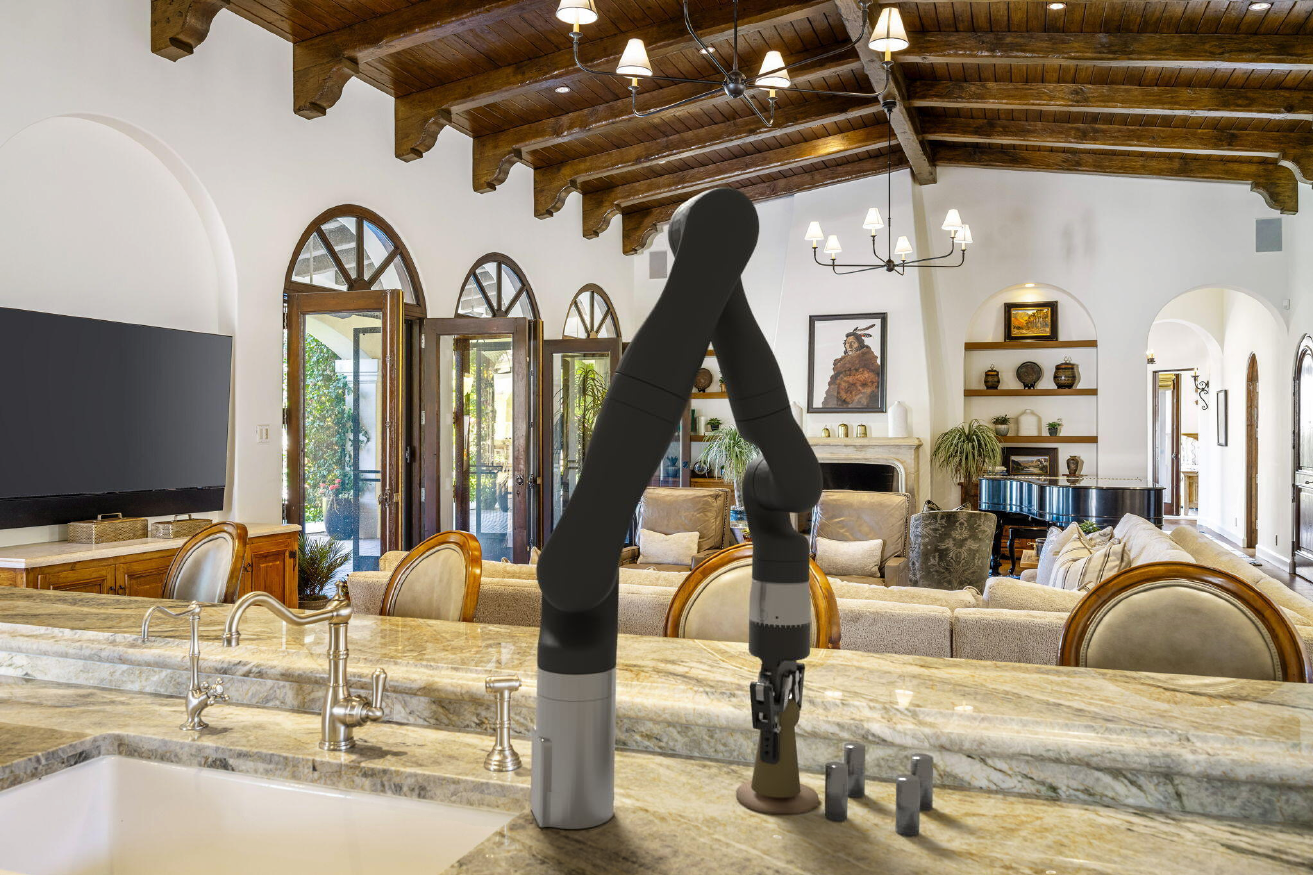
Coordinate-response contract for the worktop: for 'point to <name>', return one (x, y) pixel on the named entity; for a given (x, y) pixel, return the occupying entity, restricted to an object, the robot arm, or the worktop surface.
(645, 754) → the worktop surface
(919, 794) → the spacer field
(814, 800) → the smooth stone
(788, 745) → the brown tapered cylinder
